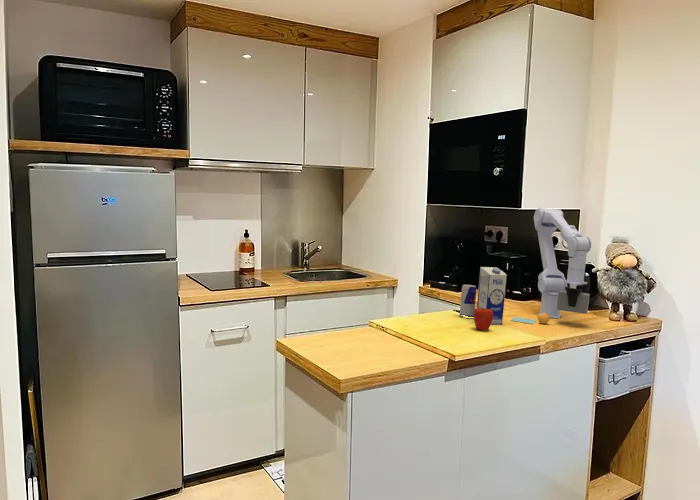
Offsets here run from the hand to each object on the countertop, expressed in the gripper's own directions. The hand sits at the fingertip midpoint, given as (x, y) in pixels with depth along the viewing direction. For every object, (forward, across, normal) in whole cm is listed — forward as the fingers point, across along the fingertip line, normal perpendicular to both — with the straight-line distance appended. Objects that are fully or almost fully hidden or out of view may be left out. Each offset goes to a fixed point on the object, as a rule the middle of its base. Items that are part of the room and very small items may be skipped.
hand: (572, 305), depth 194 cm
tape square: (+7, -6, +16) cm, 19 cm away
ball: (+5, -6, +9) cm, 12 cm away
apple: (+8, -33, +25) cm, 42 cm away
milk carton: (+8, -19, +26) cm, 33 cm away
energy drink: (+8, -16, +35) cm, 39 cm away
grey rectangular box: (+2, 0, 0) cm, 2 cm away
